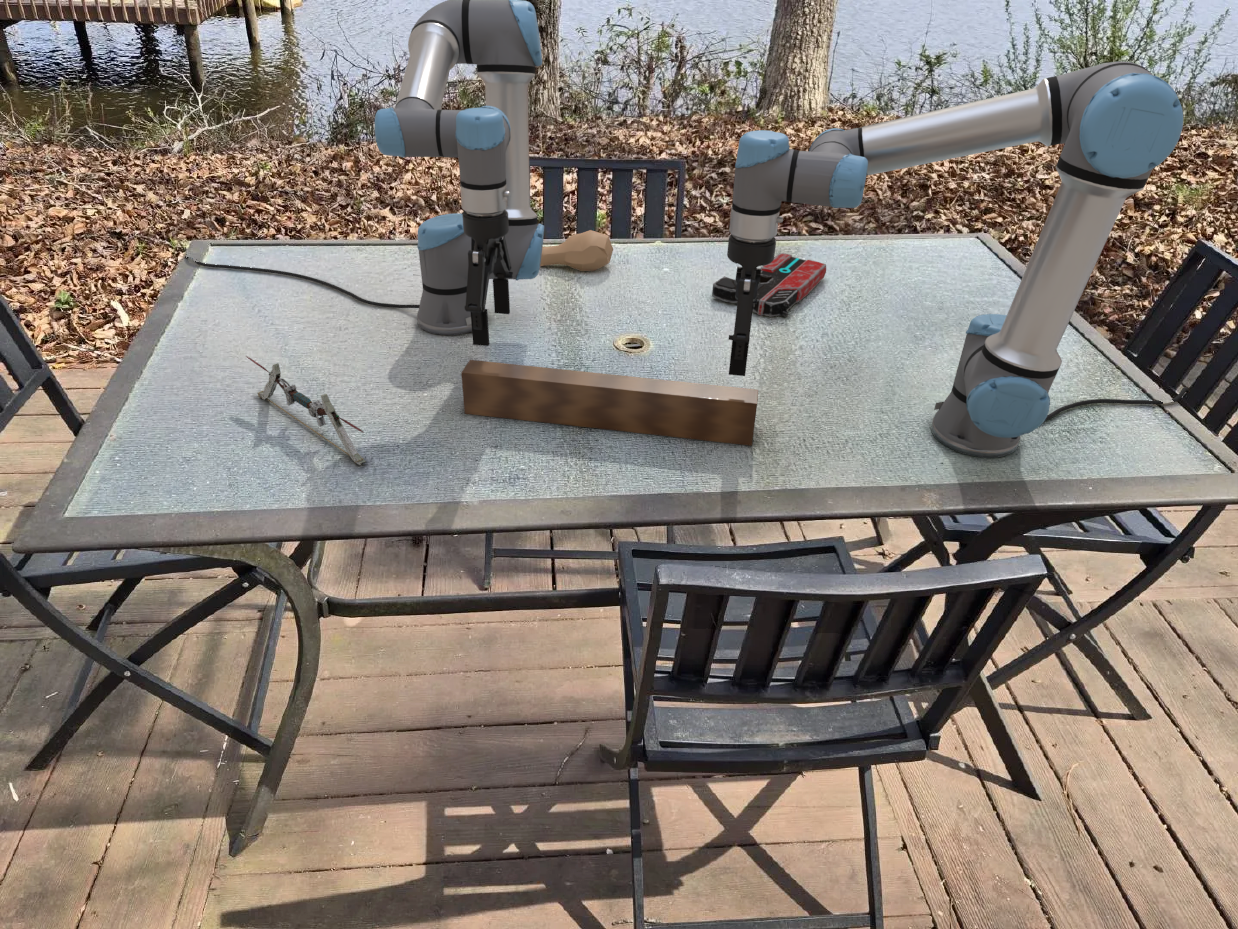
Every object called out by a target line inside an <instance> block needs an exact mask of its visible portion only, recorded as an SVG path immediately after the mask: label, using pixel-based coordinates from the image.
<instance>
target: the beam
mask: <svg viewBox="0 0 1238 929" xmlns="http://www.w3.org/2000/svg"><path fill="white" fill-rule="evenodd" d="M460 376H461V387H462V398H463V409H464V410H463V411H464V414H465V415H474V416H483V417H490V418H500V419H508V420H509V419H510V420H519V421H527V422H536V423H545V424H546V423H547V424H554V425H562V426H572V427H581V428H590V429H598V430H599V429H600V430H607V431H617V432H625V433H634V434H642V435H643V434H644V435H653V436H662V437H669V438H679V439H688V440H697V441H704V442H705V441H706V442H715V443H722V444H723V443H724V444H732V445H733V444H734V445H742V446H750V447H751V446H752V447H753V440H754V433H755V426H756V417H757V409H758V402H759V389H755V388H746V387H737V386H728V385H727V386H726V385H717V384H709V383H707V384H706V383H699V382H698V383H697V382H688V381H678V380H671V379H670V380H669V379H659V378H652V377H651V378H649V377H641V376H631V375H622V374H611V373H610V374H609V373H601V372H592V371H583V370H572V369H563V368H555V367H554V368H553V367H544V366H533V365H526V364H525V365H524V364H515V363H506V362H505V363H504V362H495V361H487V360H486V361H485V360H476V359H469V361H467V363H466V364H465V366H464V368H463V369H462V370H461V373H460Z"/></svg>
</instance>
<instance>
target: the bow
mask: <svg viewBox="0 0 1238 929" xmlns="http://www.w3.org/2000/svg"><path fill="white" fill-rule="evenodd" d="M245 357H246V358H247V359H248V360H250V361H251V362H253V364H255V365H256V366H257V367H259V368H261V369H262V370H263V371H265V372H267V373H268V381H267V382H266V384H265V386H264V387H263V388H264V389H263V390H261V391H258V392H257V397H259V398H260V399H262V400H267V401H269V402H270V403H271V404H272V405H275V406H276V407H277V408H278V409H280V410H282V411H283V412H285V413H286V414H287V415H289V416H290V417H292V418H293V419H295V420H296V421H298V422H299V423H301V424H302V425H304V426H305V427H306V428H308V429H310V430H311V431H312V432H314V433H315V434H317V435H318V436H319V437H321V438H323V439H324V440H325V441H327V442H329V443H330V444H332V445H333V446H334V447H335V448H337V449H339V450H340V451H342V452H343V453H344V454H346V455H347V456H348V457H350V459H351V460H352V461H353V462H354V464H356V465H359V466H362V464H365V463H367V461H366V460H365V458H364V457H362V456H361V455H360V453H359V452H358V451H357V449H356V447H355V445H354V443H353V441H352V440H351V438H350V436H349V434H348V432H347V430H346V429H345V427H344V425H343V423H346V424H347V425H348V426H350V427H352V428H353V429H355V430H357V431H358V432H360V433H362V434H364V433H365V431H364V430H362V429H361V428H360V427H358V426H356V425H355V424H353V423H351V422H350V421H348V420H346V419H344V418H342V417H340V415H339V414H338V412H337V411H336V408H335V407H334V405H333V403H332V402H331V399H330V398H329V395H328V394H327V393H324V394H321V395H320V399H321V401H320V399H317V400H315V401H312V400H311V398H309V397H308V396H307V395H305V394H304V393H302V392H300V391H298V390H297V386H296V384H291V385H290V383H289V382H288V381H287V380H286V379H284V378H282V376H281V375H282V372H281V367H280V363H278V362H277V363H274V364H272V365H271V366H272V367H271V368H272V369H271V371H269V370H268V369H266V368H265V367H264V366H263V365H262V364H260V363H259V362H257V361H256V360H254V359H252V358H251V357H249V356H248V355H245ZM277 385H279V387H280V388H281V389H282V391H283V393H284V395H285V402H286V405H287V406H289V407H290V406H292V405H295V404H296V403H298V404H299V405H300V406H301V407H303V408H305V409H307V410H308V414H309V415H310V416H311V417H312V418H313V419H314V418H315V419H316V422H317V426H318V427H320V428H321V427H323V426H327V423H326V418H325V417H324V416H327V417H328V419H329V421H330V423H331V425H332V428H334V431H335V433H336V434H337V437H338V438H339V440H340V442H341V443H342V444H343V448H344V449H343V448H341V447H339V446H338V445H336V444H335V443H334V442H332V441H330V439H328V438H326V437H325V436H323V435H322V434H320V433H319V432H318V431H316V430H314V429H313V428H312V427H310V426H309V425H307V424H306V423H304V422H303V421H301V420H300V419H298V418H297V417H295V416H294V415H293V414H291V413H290V412H288V411H287V410H285V409H284V408H283V407H281V406H279V405H278V404H276V402H273V401H272V400H270V398H271V397H272V396H273V395H274V393H275V391H276V390H277ZM342 422H343V423H342Z"/></svg>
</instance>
